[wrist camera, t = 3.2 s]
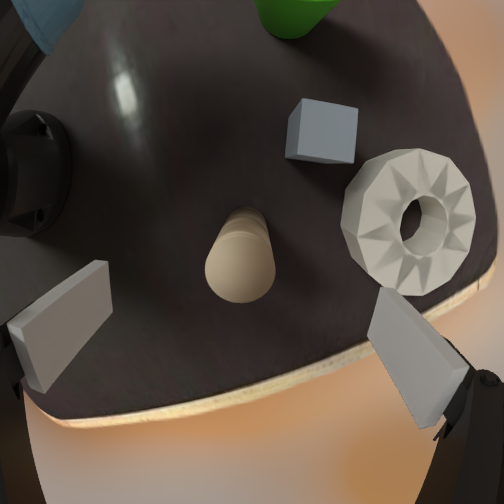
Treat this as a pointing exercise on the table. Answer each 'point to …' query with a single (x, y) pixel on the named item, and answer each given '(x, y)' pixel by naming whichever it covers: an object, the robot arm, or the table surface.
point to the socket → (390, 215)
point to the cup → (292, 15)
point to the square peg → (322, 132)
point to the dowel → (241, 258)
